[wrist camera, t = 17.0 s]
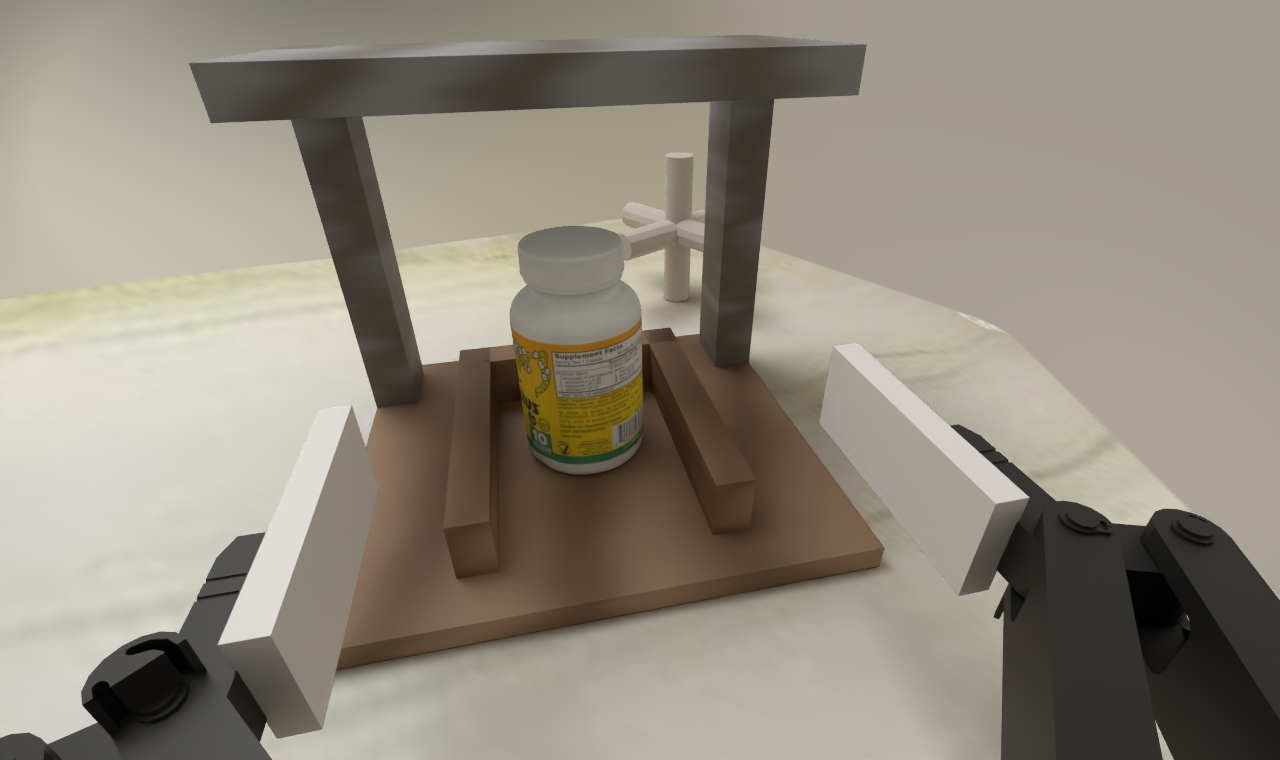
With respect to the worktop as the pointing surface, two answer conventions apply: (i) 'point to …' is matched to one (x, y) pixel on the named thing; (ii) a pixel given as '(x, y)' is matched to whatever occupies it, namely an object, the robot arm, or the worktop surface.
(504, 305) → the worktop surface
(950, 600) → the worktop surface
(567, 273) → the supplement bottle
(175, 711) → the robot arm
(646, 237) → the pipe connector
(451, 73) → the keeper holder
